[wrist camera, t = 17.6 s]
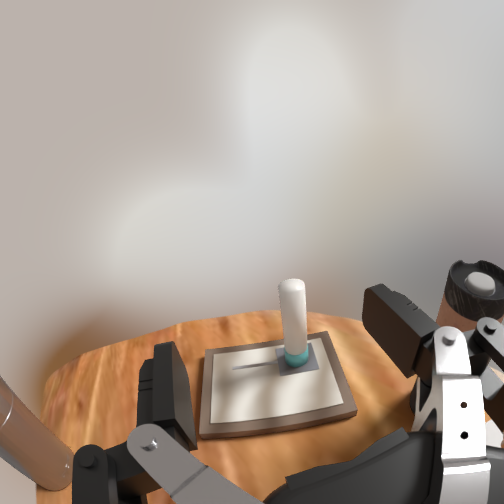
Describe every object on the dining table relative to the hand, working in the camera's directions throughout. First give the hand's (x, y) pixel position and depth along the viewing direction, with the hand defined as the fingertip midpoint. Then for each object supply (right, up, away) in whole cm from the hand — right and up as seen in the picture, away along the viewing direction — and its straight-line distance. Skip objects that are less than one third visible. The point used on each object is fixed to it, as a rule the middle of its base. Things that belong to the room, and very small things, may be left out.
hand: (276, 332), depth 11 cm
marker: (+6, -12, +29) cm, 32 cm away
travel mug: (+23, -17, +18) cm, 34 cm away
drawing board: (+2, -16, +27) cm, 31 cm away
